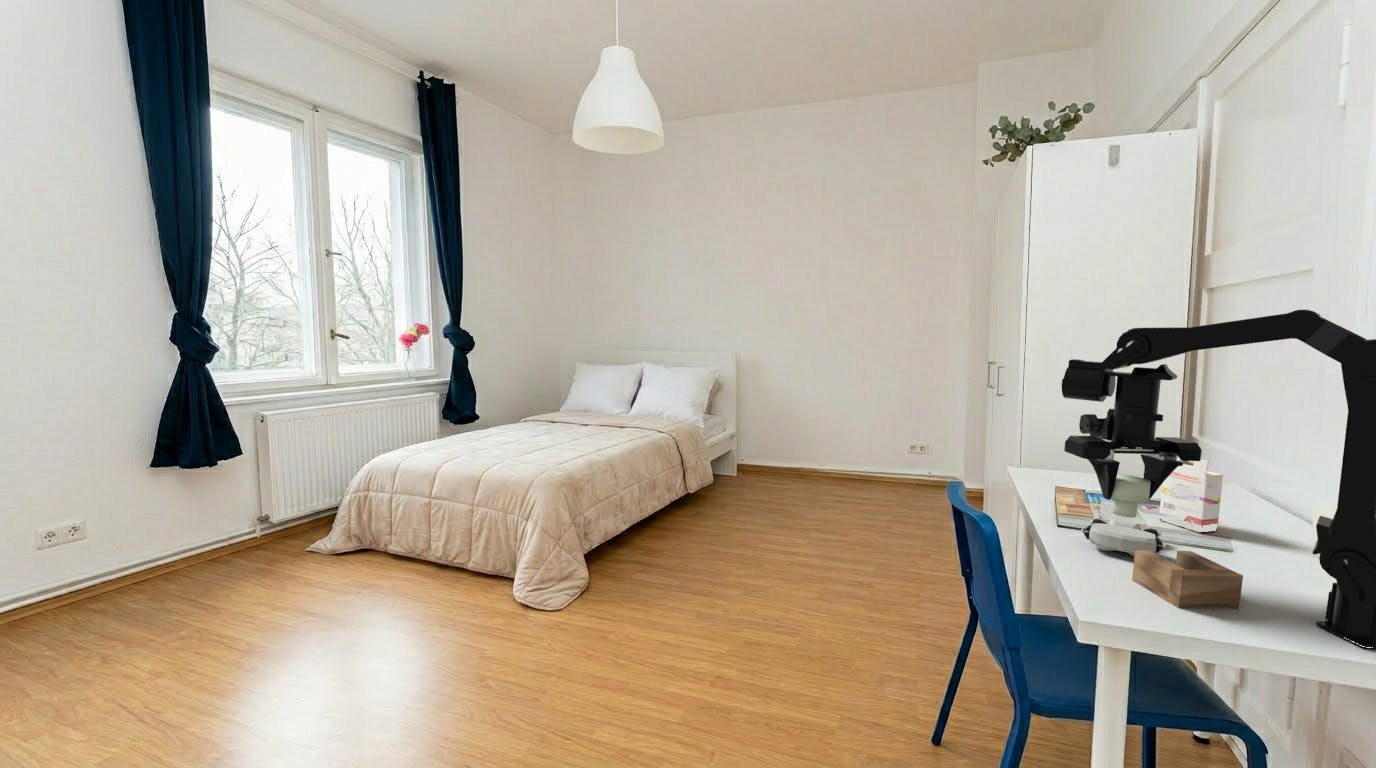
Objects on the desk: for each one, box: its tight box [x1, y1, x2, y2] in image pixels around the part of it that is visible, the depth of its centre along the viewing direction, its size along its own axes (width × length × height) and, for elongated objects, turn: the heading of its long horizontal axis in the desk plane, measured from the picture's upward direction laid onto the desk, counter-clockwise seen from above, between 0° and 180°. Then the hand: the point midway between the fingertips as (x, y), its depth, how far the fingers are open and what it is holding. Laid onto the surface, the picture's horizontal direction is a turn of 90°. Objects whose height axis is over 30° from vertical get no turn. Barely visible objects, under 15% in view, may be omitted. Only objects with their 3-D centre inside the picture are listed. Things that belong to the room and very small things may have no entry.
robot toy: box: [1080, 518, 1166, 557], centre depth 116 cm, size 12×4×15 cm
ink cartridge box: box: [1159, 456, 1224, 526], centre depth 128 cm, size 9×5×15 cm, turn 17°
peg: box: [1111, 473, 1151, 519], centre depth 104 cm, size 6×6×6 cm
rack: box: [1131, 550, 1244, 609], centre depth 97 cm, size 10×9×5 cm
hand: (1126, 499), depth 104 cm, fingers closed on peg, 6 cm apart
